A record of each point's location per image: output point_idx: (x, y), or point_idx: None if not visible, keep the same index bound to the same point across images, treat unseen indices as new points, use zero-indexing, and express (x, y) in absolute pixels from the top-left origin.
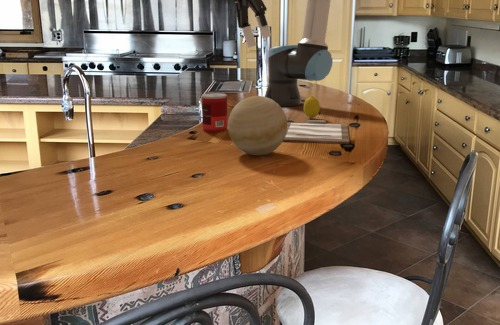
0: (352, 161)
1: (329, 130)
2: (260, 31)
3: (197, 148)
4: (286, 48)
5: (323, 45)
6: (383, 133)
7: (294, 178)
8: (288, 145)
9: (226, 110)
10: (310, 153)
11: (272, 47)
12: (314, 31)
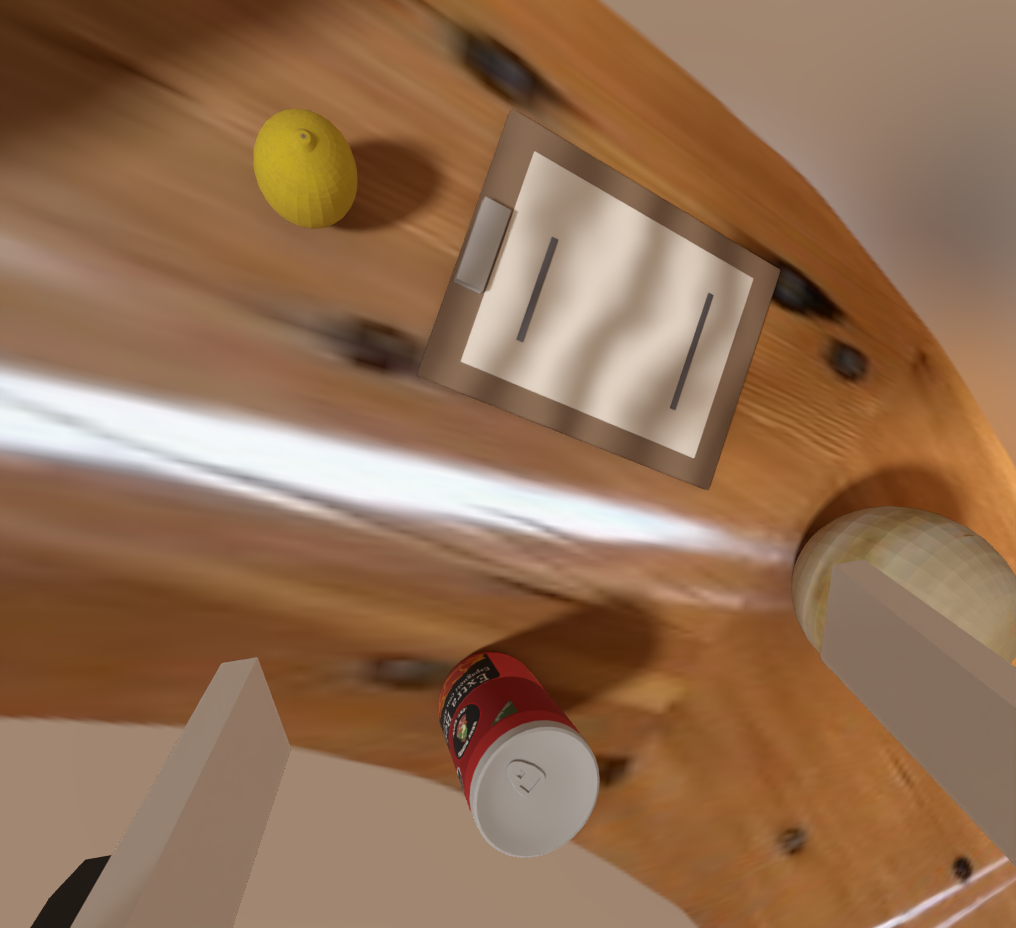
0: (911, 350)
1: (632, 259)
2: (893, 734)
3: (729, 738)
4: None
5: None
6: (669, 58)
7: (973, 522)
8: (751, 466)
9: (535, 689)
10: (835, 429)
11: None
12: None
